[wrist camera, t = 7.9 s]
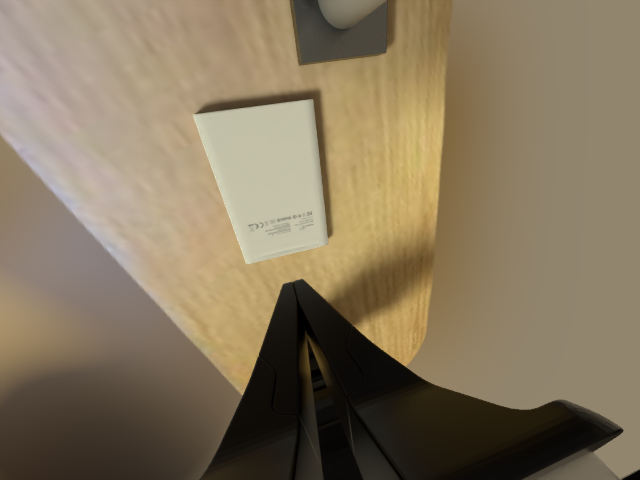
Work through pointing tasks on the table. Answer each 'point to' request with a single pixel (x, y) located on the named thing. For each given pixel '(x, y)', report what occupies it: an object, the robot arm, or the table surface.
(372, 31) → the arm mount
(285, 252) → the external hard drive
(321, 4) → the swing arm
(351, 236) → the table surface
